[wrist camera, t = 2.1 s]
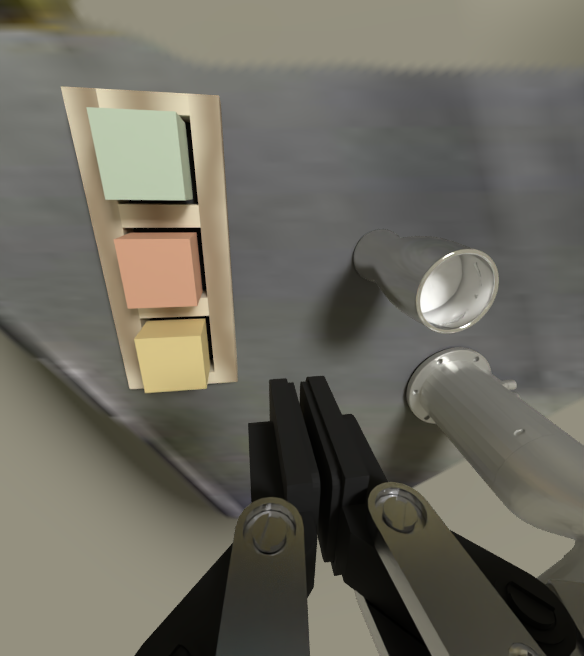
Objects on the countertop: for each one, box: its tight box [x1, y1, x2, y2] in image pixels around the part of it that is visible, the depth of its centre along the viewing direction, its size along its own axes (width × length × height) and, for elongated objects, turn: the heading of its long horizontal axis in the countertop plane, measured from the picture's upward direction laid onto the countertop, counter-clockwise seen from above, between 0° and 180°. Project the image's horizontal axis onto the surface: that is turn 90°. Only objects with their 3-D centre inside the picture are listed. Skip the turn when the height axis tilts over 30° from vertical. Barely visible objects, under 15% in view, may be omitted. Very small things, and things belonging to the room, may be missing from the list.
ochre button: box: [134, 319, 210, 393], centre depth 33 cm, size 6×6×4 cm
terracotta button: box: [114, 232, 203, 309], centre depth 29 cm, size 6×6×4 cm
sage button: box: [86, 107, 193, 200], centre depth 26 cm, size 6×6×4 cm
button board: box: [61, 87, 238, 389], centre depth 32 cm, size 12×28×3 cm, turn 179°
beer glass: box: [353, 229, 499, 334], centre depth 30 cm, size 7×7×15 cm
